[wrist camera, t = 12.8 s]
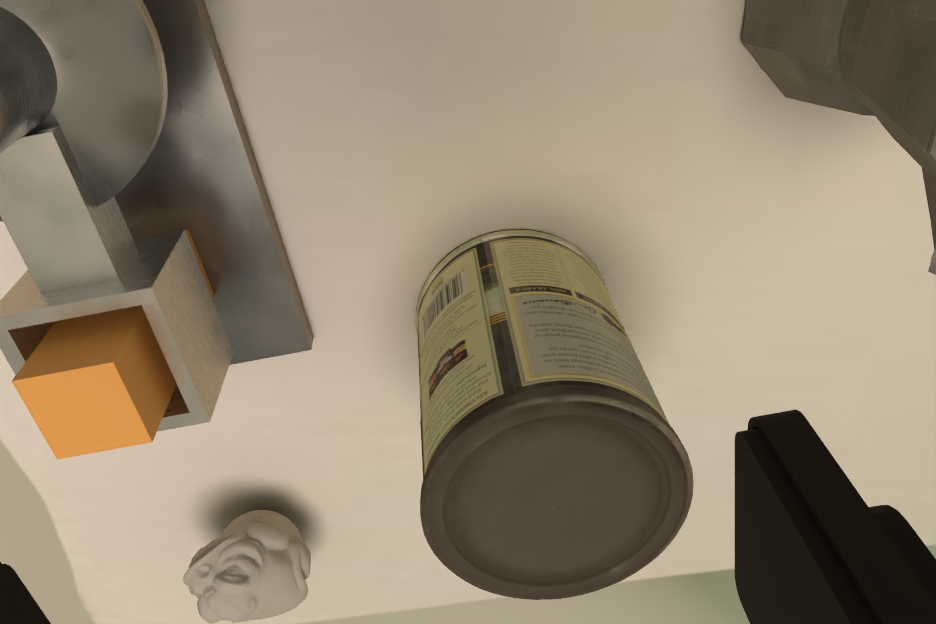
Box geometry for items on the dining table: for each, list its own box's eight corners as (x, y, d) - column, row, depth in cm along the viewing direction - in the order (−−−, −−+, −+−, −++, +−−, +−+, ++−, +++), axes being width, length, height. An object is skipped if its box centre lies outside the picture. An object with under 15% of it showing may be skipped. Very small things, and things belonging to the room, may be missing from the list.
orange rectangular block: (112, 243, 37) (11, 381, 27) (188, 229, 37) (113, 362, 27) (142, 309, 39) (57, 459, 29) (214, 295, 38) (152, 441, 29)
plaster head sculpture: (234, 464, 45) (208, 558, 39) (338, 512, 48) (329, 608, 42) (185, 529, 48) (153, 627, 42) (287, 572, 50) (271, 670, 44)
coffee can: (581, 405, 45) (646, 611, 33) (401, 383, 43) (400, 591, 31) (635, 243, 40) (735, 415, 28) (434, 211, 38) (448, 379, 26)
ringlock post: (-127, -97, 30) (-931, -13, 12) (152, -155, 30) (-239, -157, 12) (109, 374, 42) (-120, 784, 24) (313, 337, 41) (242, 722, 23)
